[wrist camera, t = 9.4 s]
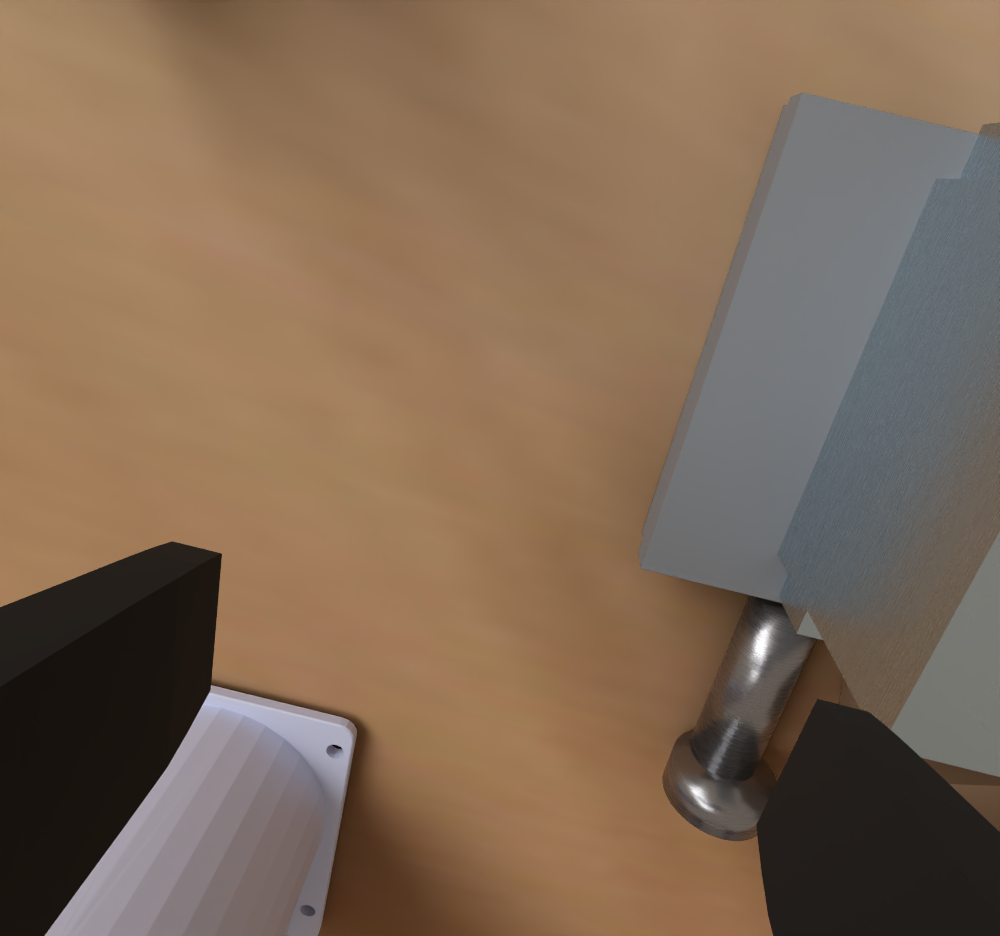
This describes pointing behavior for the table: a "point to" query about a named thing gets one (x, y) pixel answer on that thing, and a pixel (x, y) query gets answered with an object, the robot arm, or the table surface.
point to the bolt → (738, 726)
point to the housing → (918, 490)
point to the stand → (790, 334)
